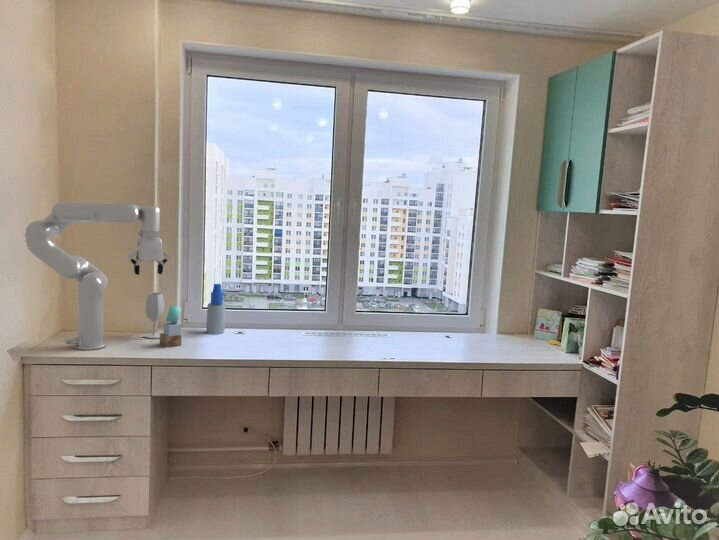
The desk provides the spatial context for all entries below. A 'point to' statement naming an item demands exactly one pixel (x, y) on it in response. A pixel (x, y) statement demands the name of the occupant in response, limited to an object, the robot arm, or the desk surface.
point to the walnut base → (170, 340)
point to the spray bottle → (216, 312)
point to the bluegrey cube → (172, 329)
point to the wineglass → (154, 312)
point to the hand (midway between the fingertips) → (148, 274)
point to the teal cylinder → (173, 314)
